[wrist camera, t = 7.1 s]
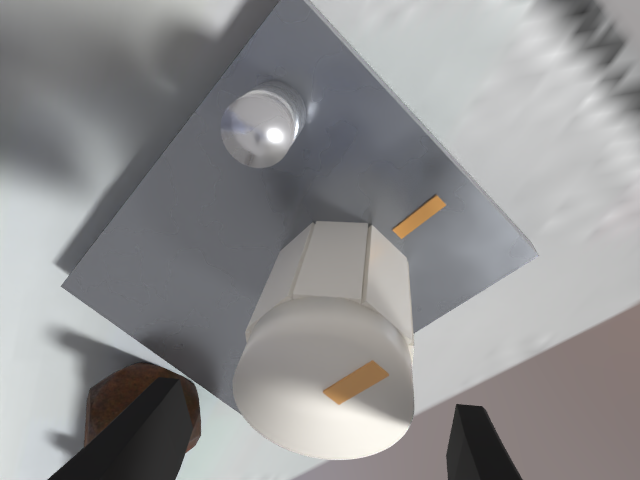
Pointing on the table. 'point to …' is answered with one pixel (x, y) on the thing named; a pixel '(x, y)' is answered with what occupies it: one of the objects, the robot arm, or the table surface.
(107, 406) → the bolt
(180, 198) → the plate
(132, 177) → the table surface
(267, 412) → the knob
